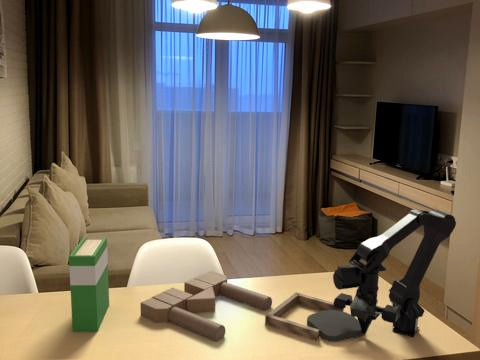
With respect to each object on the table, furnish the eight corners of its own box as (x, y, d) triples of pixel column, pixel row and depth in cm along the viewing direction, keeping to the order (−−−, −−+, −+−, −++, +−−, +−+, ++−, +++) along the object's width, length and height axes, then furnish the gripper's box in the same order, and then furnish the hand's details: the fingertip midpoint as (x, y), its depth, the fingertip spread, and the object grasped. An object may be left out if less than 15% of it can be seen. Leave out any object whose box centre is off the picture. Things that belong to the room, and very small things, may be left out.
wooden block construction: (140, 317, 161) (209, 348, 144) (140, 301, 160) (209, 330, 143) (210, 283, 189) (276, 305, 171) (210, 269, 188) (276, 290, 170)
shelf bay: (343, 313, 165) (343, 305, 165) (316, 341, 148) (317, 331, 147) (295, 300, 174) (295, 292, 174) (265, 324, 157) (265, 315, 156)
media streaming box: (328, 345, 146) (328, 335, 145) (301, 323, 159) (302, 314, 159) (368, 335, 152) (369, 326, 151) (340, 315, 165) (340, 306, 164)
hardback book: (86, 305, 167) (83, 237, 163) (109, 305, 168) (106, 237, 163) (72, 332, 150) (68, 256, 145) (97, 331, 151) (94, 256, 146)
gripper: (327, 286, 145) (324, 336, 149) (392, 302, 136) (387, 355, 139) (341, 274, 155) (338, 321, 158) (402, 288, 145) (398, 338, 148)
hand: (364, 333), depth 150 cm, fingers closed
